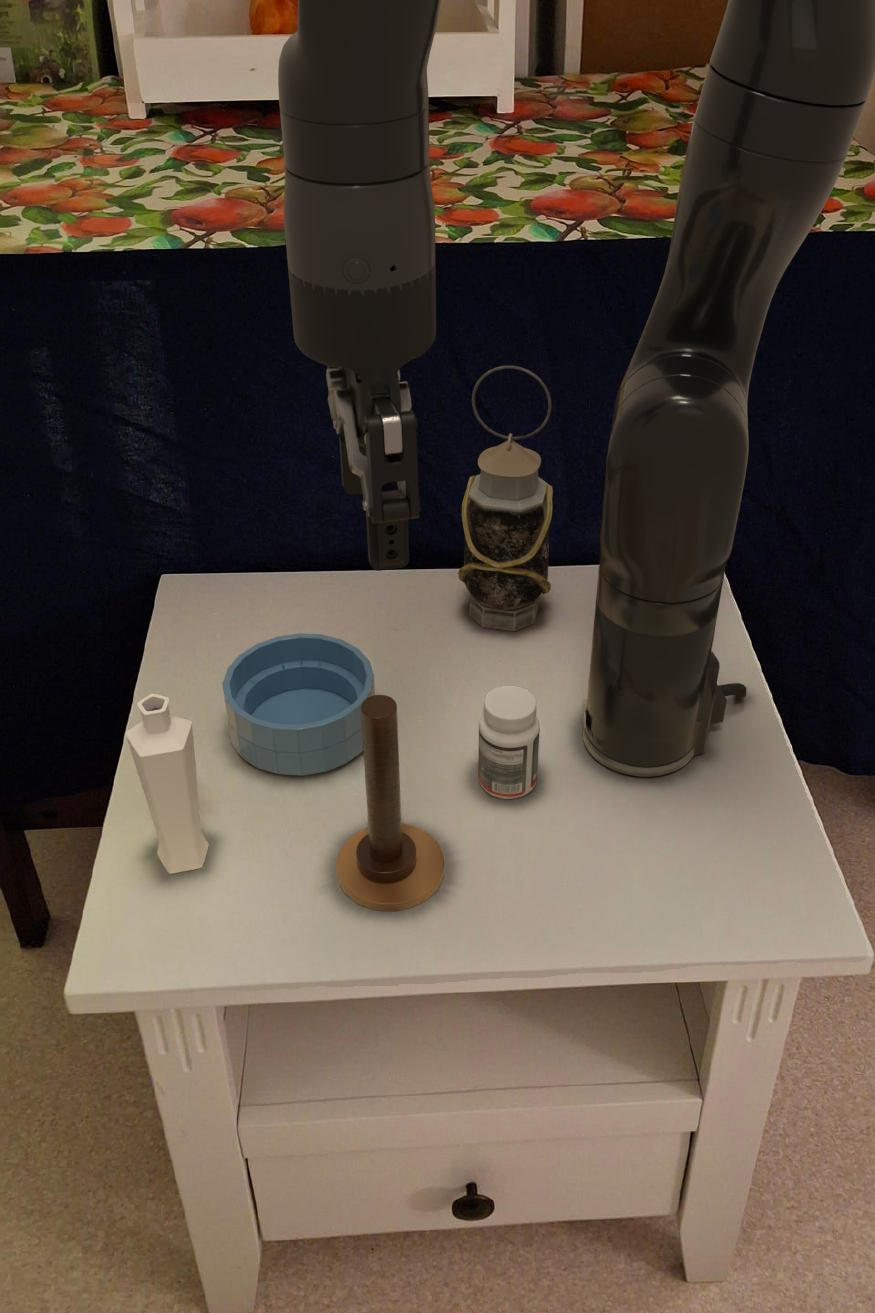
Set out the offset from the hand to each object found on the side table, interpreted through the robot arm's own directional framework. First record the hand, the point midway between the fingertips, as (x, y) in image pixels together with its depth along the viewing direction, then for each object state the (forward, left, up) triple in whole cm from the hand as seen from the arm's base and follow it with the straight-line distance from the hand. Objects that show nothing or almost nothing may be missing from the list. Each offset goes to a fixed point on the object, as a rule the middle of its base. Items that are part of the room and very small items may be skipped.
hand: (374, 526), depth 72 cm
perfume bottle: (+15, -5, -30) cm, 34 cm away
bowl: (+4, -17, -30) cm, 35 cm away
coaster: (0, 0, -30) cm, 30 cm away
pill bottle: (-11, -7, -30) cm, 33 cm away
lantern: (-17, -29, -30) cm, 45 cm away
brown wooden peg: (0, 0, -29) cm, 29 cm away
